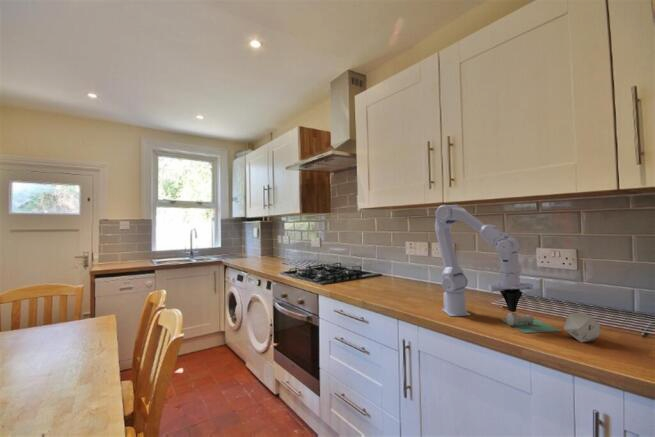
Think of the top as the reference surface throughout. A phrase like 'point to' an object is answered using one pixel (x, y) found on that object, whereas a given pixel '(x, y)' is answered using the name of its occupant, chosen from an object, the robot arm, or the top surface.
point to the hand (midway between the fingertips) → (512, 311)
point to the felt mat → (534, 327)
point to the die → (582, 327)
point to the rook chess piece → (518, 319)
